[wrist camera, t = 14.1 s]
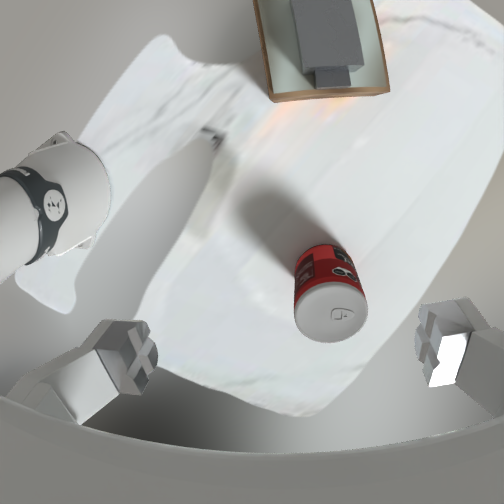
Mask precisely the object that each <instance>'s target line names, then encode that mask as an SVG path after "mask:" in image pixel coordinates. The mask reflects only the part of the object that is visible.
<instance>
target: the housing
mask: <svg viewBox="0 0 504 504" xmlns="http://www.w3.org/2000/svg"><path fill="white" fill-rule="evenodd" d="M289 4H290V9H291V14H292V19H293V24H294V29H295V34H296V39H297V45H298V51H299V56H300V62H301V68H302V74H303V75H312V74H313V76H314V82H315V89H316V90H326V89H345V88H348V87H350V86H351V81H350V74H349V72H356V71H357V70H358V69H360V68H361V67H363V66H364V65H365V64H364V58H363V52H362V47H361V42H360V37H359V32H358V27H357V22H356V18H355V14H354V9H353V5H352V1H351V0H289Z"/></svg>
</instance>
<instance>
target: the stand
mask: <svg viewBox="0 0 504 504" xmlns="http://www.w3.org/2000/svg"><path fill="white" fill-rule="evenodd" d="M351 1H352V5H353V9H354V14H355V18H356V22H357V27H358V32H359V37H360V42H361V47H362V52H363V58H364V64H365V65H364V66H363V67H361V68H360V69H358V70H357V71H356V72H349V74H350V81H351V86H350V87H348V88H345V89H326V90H316V89H315V82H314V76H313V74H312V75H303V74H302V68H301V62H300V56H299V51H298V45H297V39H296V34H295V29H294V24H293V19H292V14H291V9H290V4H289V0H253V4H254V10H255V15H256V20H257V25H258V32H259V37H260V43H261V49H262V55H263V60H264V67H265V73H266V79H267V85H268V91H269V98H270V100H271V101H272V102H274V103H278V102H287V101H296V100H307V99H319V98H334V97H355V96H376V95H379V94H383V93H387V92H390V85H389V78H388V72H387V66H386V60H385V54H384V49H383V43H382V38H381V34H380V29H379V24H378V20H377V16H376V11H375V7H374V3H373V0H351Z"/></svg>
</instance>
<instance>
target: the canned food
mask: <svg viewBox="0 0 504 504" xmlns="http://www.w3.org/2000/svg"><path fill="white" fill-rule="evenodd" d="M367 316H368V306H367V301H366V298H365V294H364V292H363V289H362V286H361V283H360V280H359V277H358V275H357V272H356V269H355V266H354V264H353V261H352V259H351V257H350V256H349V255H348V254H347V253H346V252H345V251H343V250H342V249H340V248H338V247H336V246H332V245H318V246H315V247H313V248H310V249H309V250H307V251H306V252H305V253H304V254H303V255H302V256H301V257H300V259H299V260H298V262H297V264H296V268H295V290H294V317H295V323H296V325H297V327H298V329H299V330H300V332H301V333H302V334H303V335H305V336H306V337H308V338H309V339H311V340H314V341H317V342H322V343H335V342H340V341H343V340H346V339H348V338H350V337H352V336H353V335H355V334H356V333H357V332H358V331H360V329H361V328H362V327H363V326H364V324H365V322H366V320H367Z"/></svg>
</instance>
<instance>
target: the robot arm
mask: <svg viewBox="0 0 504 504" xmlns="http://www.w3.org/2000/svg"><path fill="white" fill-rule="evenodd" d="M56 141H57V144H56ZM110 201H111V190H110V183H109V179H108V176H107V173H106V170H105V168H104V166H103V164H102V163H101V161H100V160H99V158H98V157H97V156H96V155H95V154H94V153H93V152H92V151H91V150H89V149H88V148H86V147H84V146H82V145H80V144H78V143H76V142H74V140H73V139H72V138H71V137H70V135H69V134H68V133H67V132H65V131H62V132H59V133H57V134H55V135H54V136H53V137H51V138H50V139H49V140H48V141H46V142H45V143H44V144H42V145H41V146H40V147H39V148H37V149H36V150H35V151H32V152H30V153H29V155H28V157H26V158H25V159H24V160H23V161H22V162H21V163H19V164H18V165H17V166H16V167H15V168H12V169H9V170H6V171H4V172H3V173H1V174H0V284H2V283H3V282H4V281H5V280H6V279H7V278H8V277H9V276H10V275H12V274H13V273H14V272H15V271H17V270H18V269H19V268H21V267H22V266H23V265H29V264H31V263H33V262H36V261H38V260H39V259H41V258H42V257H44V256H45V255H46V254H48V256H53V255H56V256H57V257H58V256H61V255H63V254H64V253H66V252H68V251H69V250H71V249H73V248H80V249H89V248H91V247H92V246H93V245H94V242H95V238H96V233H97V231H98V229H99V228H100V226H101V225H102V224H103V222H104V221H105V219H106V217H107V215H108V212H109V208H110ZM418 317H419V319H420V322H421V324H420V325H419V326H418V327H417V329H416V333H415V350H416V355H417V358H418V360H419V361H421V362H422V363H424V367H423V373H424V376H425V379H426V381H427V384H428V387H432V386H438V385H443V384H448V383H454V382H455V384H456V385H457V386H458V387H459V388H460V389H461V390H463V391H464V392H465V393H466V394H467V395H469V396H470V397H471V398H472V399H473V400H474V401H476V402H477V403H478V404H479V405H480V406H481V407H483V408H484V409H485V410H486V411H487V412H488V413H490V414H491V415H492V416H493V417H494V418H493V419H490V420H487V421H484V422H482V423H478V424H475V425H472V426H468V427H465V428H462V429H458V430H455V431H451V432H447V433H443V434H439V435H435V436H430V437H426V438H422V439H416V440H412V441H406V442H401V443H395V444H389V445H383V446H376V447H369V448H361V449H352V450H342V451H330V452H314V453H242V452H227V451H214V450H204V449H196V448H187V447H180V446H173V445H166V444H160V443H155V442H149V441H144V440H139V439H134V438H128V437H124V436H120V435H116V434H112V433H108V432H104V431H100V430H96V429H92V428H89V427H85V426H82V425H81V424H82V423H84V422H85V421H86V420H87V419H89V418H90V417H91V416H93V415H94V414H95V413H96V412H97V411H99V410H100V409H101V408H102V407H104V406H105V405H106V404H107V403H109V402H110V401H111V400H112V399H114V398H115V397H116V396H117V395H118V394H119V393H125V394H134V395H142V393H143V391H144V389H145V387H146V385H147V383H148V381H149V379H148V376H147V375H148V374H150V373H151V372H153V371H154V370H155V368H156V366H157V361H158V351H157V347H156V345H155V342H154V341H152V340H151V339H150V338H149V337H148V336H149V334H150V329H149V327H148V325H147V323H146V322H144V321H143V320H120V319H118V320H117V319H104V320H102V321H101V322H100V323H99V324H98V326H97V327H96V328H95V329H94V330H93V331H92V333H91V334H90V335H89V337H88V338H87V339H86V340H85V341H84V342H83V344H82V345H81V346H80V347H79V348H78V347H75V348H74V349H72V350H70V351H68V352H66V353H64V354H62V355H60V356H59V357H57V358H55V359H53V360H51V361H49V362H47V363H45V364H43V365H42V366H40V367H38V368H36V369H34V370H32V371H30V372H28V373H26V374H25V375H23V376H22V377H21V378H20V379H19V381H18V382H17V383H16V384H15V386H14V387H13V388H12V389H11V391H10V392H9V393H8V394H7V396H6V397H3V396H1V395H0V504H504V331H502V330H500V329H498V328H496V327H493V328H491V327H490V326H489V324H488V323H487V322H486V320H485V319H484V317H483V316H482V315H481V313H480V312H479V311H478V309H477V308H476V307H475V305H474V304H473V303H472V301H471V300H470V299H469V298H467V297H462V298H456V299H452V300H447V301H442V302H435V303H429V304H422V305H421V307H420V310H419V315H418Z"/></svg>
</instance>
